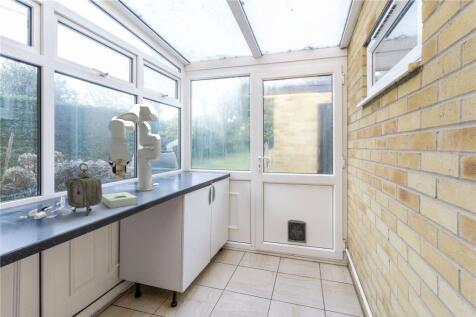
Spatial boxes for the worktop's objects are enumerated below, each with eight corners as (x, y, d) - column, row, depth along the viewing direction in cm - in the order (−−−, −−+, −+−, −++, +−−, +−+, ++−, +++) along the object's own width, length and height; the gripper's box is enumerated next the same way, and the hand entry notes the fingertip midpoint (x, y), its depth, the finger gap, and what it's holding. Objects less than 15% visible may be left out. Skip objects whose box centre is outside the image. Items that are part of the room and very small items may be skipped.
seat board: (126, 198, 146) (125, 191, 146) (137, 203, 132) (137, 197, 132) (101, 201, 137) (101, 195, 137) (110, 208, 122) (110, 201, 122)
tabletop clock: (68, 213, 114) (65, 163, 112) (86, 208, 122) (85, 162, 120) (85, 217, 107) (83, 164, 106) (104, 212, 116) (102, 163, 114)
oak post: (122, 177, 134) (122, 158, 134) (124, 177, 131) (124, 158, 130) (114, 177, 131) (113, 158, 131) (116, 178, 128) (116, 159, 127)
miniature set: (76, 200, 137) (96, 203, 136) (18, 224, 102) (44, 228, 102) (77, 190, 136) (97, 193, 136) (18, 210, 101) (45, 215, 101)
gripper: (131, 141, 138) (132, 171, 139) (100, 141, 127) (101, 173, 128) (136, 141, 133) (136, 172, 134) (103, 141, 121) (104, 175, 122)
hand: (119, 172), depth 131 cm, fingers closed on oak post, 4 cm apart
